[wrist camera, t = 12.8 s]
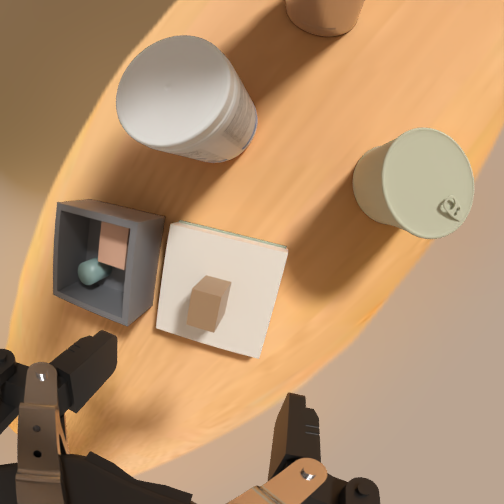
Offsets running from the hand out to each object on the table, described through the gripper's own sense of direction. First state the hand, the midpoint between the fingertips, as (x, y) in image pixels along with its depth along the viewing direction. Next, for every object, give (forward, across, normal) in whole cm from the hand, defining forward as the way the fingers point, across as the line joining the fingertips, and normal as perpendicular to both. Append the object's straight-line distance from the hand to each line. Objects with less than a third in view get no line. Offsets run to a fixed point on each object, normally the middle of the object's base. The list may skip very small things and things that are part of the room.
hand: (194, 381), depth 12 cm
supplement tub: (+24, +8, -14) cm, 29 cm away
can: (+24, -13, -12) cm, 30 cm away
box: (+24, +18, +4) cm, 30 cm away
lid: (+23, +3, +5) cm, 24 cm away
